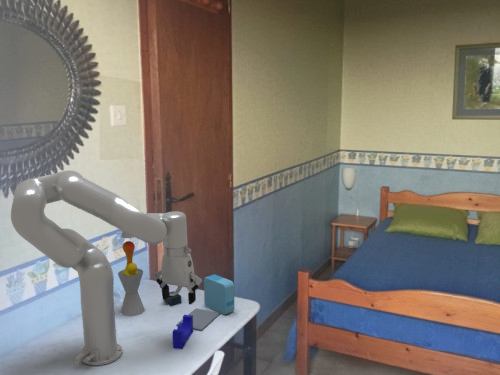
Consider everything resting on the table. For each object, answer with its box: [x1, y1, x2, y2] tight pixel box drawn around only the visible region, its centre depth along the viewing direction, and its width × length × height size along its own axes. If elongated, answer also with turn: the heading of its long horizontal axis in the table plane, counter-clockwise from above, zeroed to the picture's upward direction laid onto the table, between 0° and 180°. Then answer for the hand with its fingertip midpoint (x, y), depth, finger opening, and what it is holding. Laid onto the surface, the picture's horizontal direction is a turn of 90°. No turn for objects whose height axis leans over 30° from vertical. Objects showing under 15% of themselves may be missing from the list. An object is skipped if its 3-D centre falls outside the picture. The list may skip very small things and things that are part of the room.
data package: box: [203, 273, 235, 316], centre depth 187 cm, size 12×4×12 cm, turn 45°
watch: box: [163, 286, 183, 307], centre depth 193 cm, size 6×8×11 cm
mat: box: [175, 307, 221, 332], centre depth 179 cm, size 14×10×1 cm
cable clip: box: [172, 314, 194, 350], centre depth 165 cm, size 12×4×6 cm, turn 170°
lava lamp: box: [117, 230, 145, 317], centre depth 184 cm, size 9×9×35 cm
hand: (179, 300), depth 164 cm, fingers open, 9 cm apart
